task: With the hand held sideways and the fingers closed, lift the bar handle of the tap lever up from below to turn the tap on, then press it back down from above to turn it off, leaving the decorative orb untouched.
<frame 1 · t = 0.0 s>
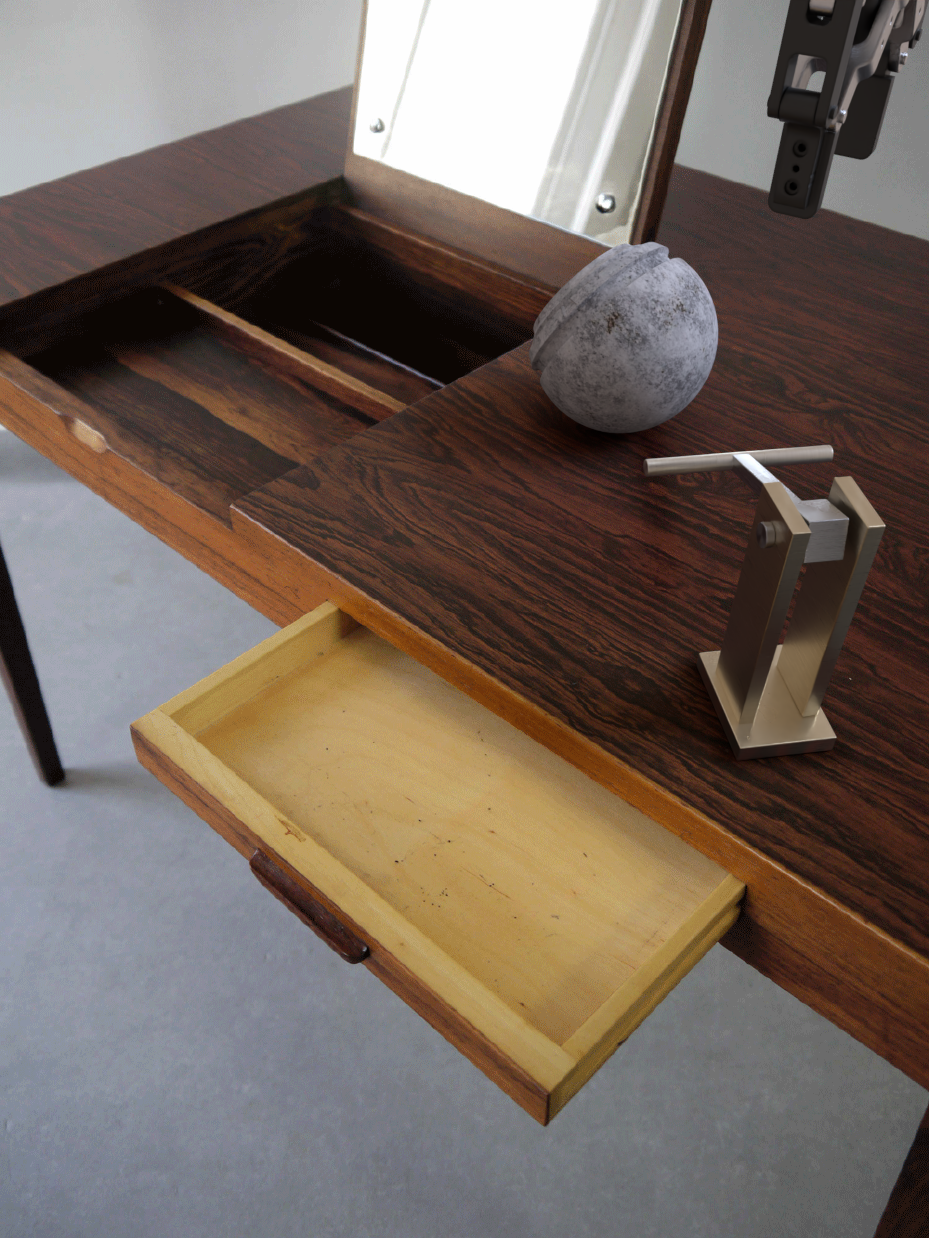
hand: (822, 182, 49), 30 cm above the table, tool pointing down, fingers open, 8 cm apart
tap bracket: (761, 706, 66), on the table
decorative orb: (614, 421, 89), on the table
tap lever: (776, 495, 61), point 13 cm above the table, hinge at -15.0°
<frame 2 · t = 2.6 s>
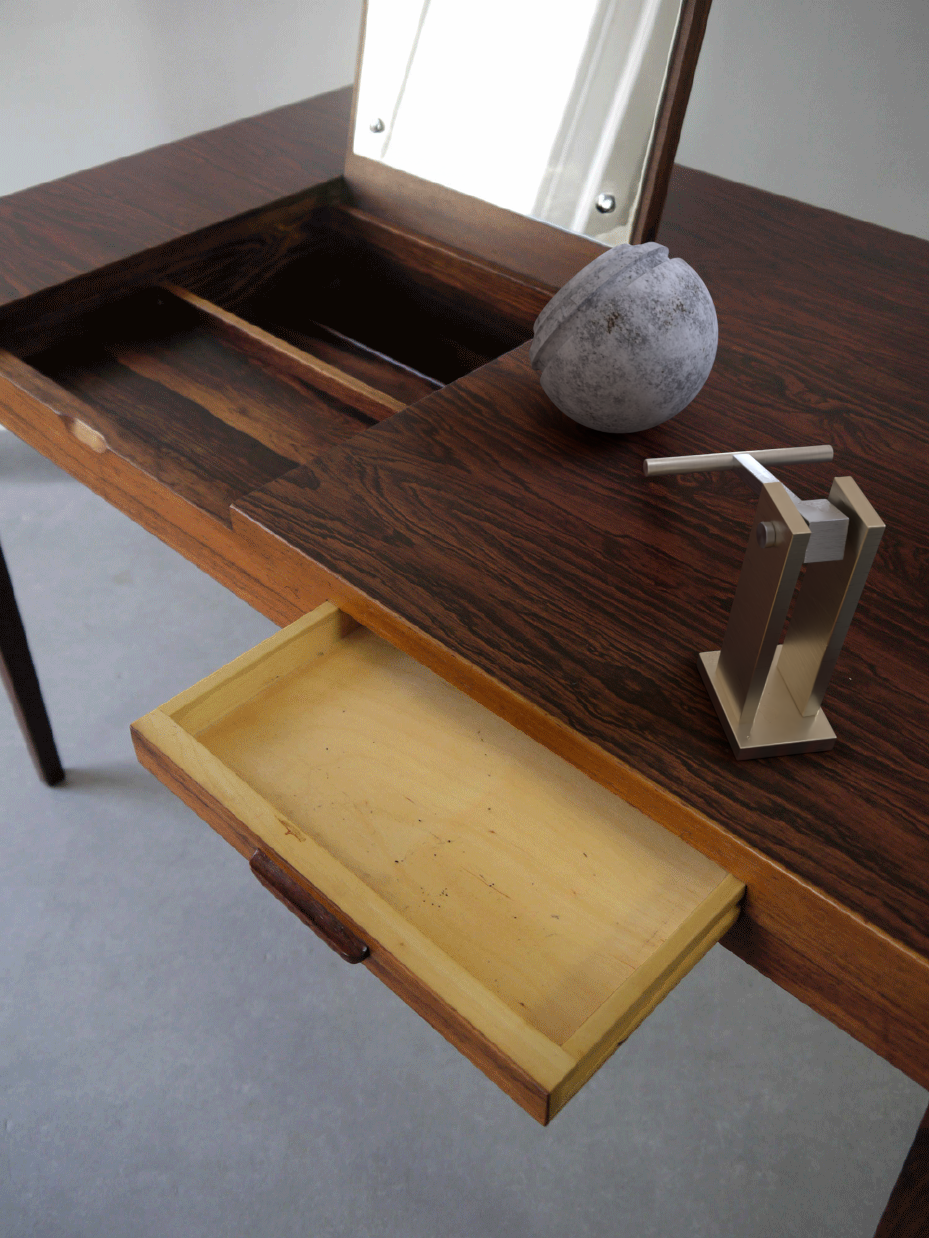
nothing on the table moved.
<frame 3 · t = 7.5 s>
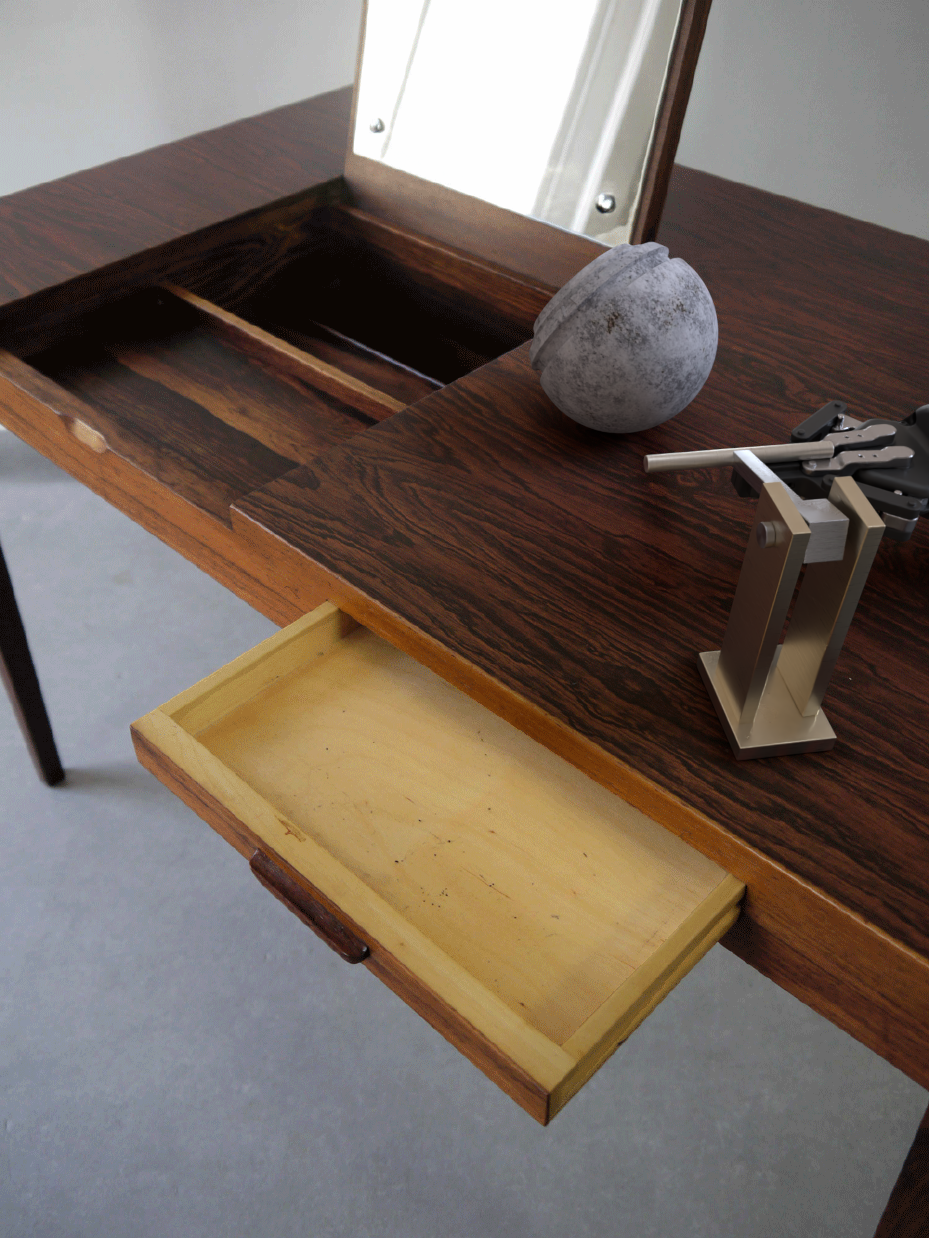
hand: (736, 477, 67), 10 cm above the table, tool horizontal, fingers closed
tap lever: (777, 493, 61), point 13 cm above the table, hinge at -13.6°, touching gripper
everything else where it was.
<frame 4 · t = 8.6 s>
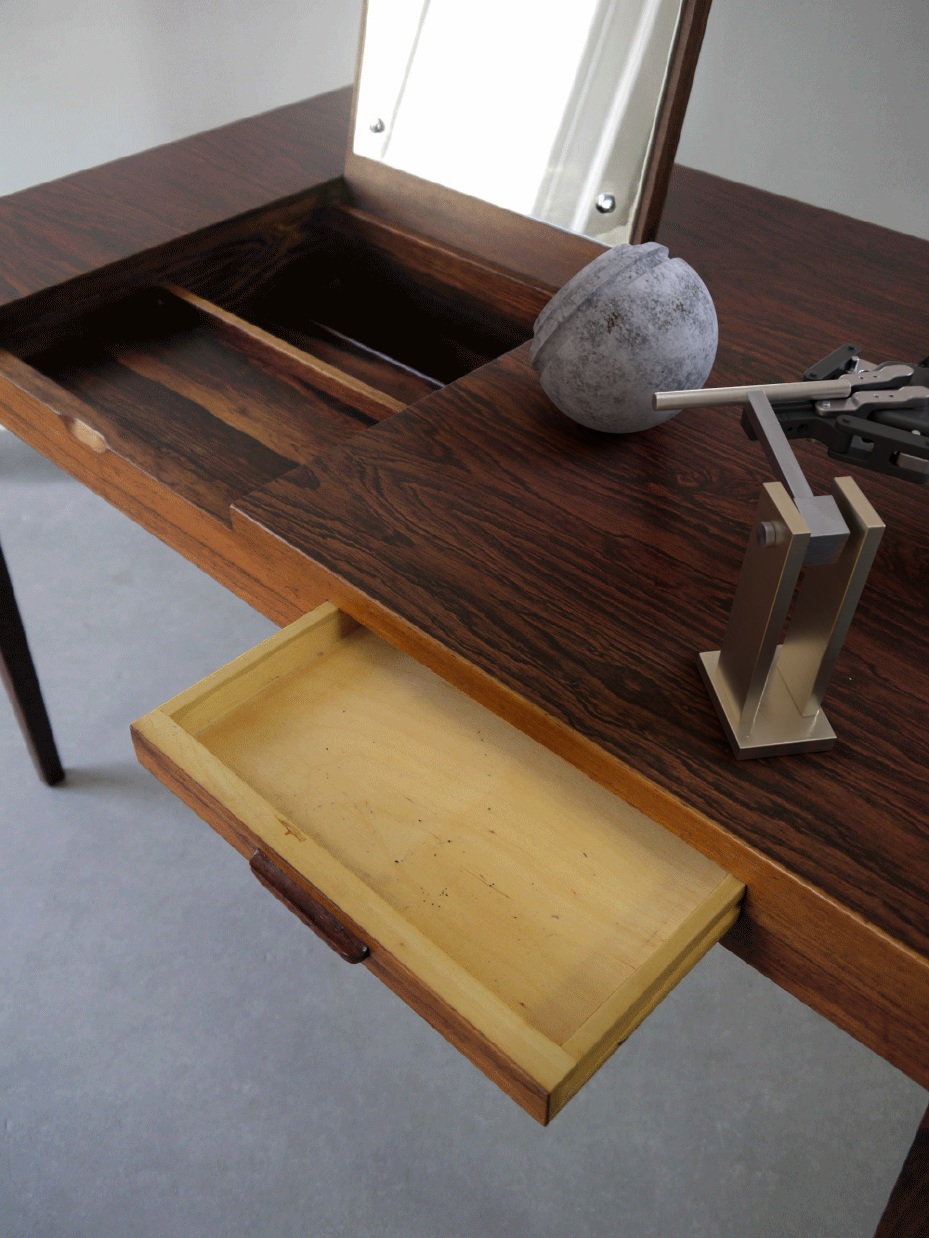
hand: (746, 419, 64), 14 cm above the table, tool horizontal, fingers closed
tap lever: (784, 464, 59), point 15 cm above the table, hinge at 9.0°, touching gripper
everything else where it was.
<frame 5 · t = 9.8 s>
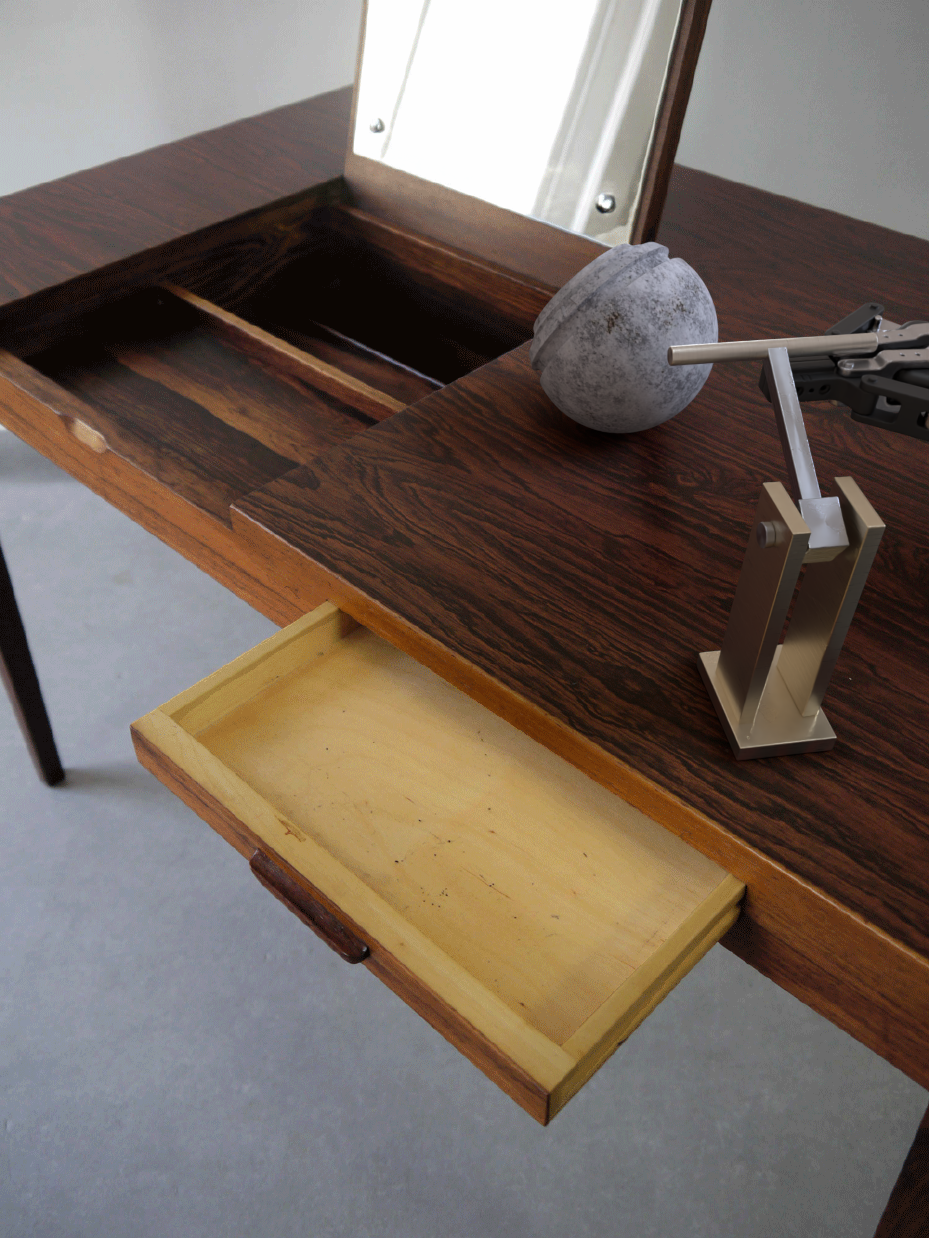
hand: (765, 381, 61), 17 cm above the table, tool horizontal, fingers closed
tap lever: (795, 444, 58), point 17 cm above the table, hinge at 29.7°, touching gripper
everything else where it was.
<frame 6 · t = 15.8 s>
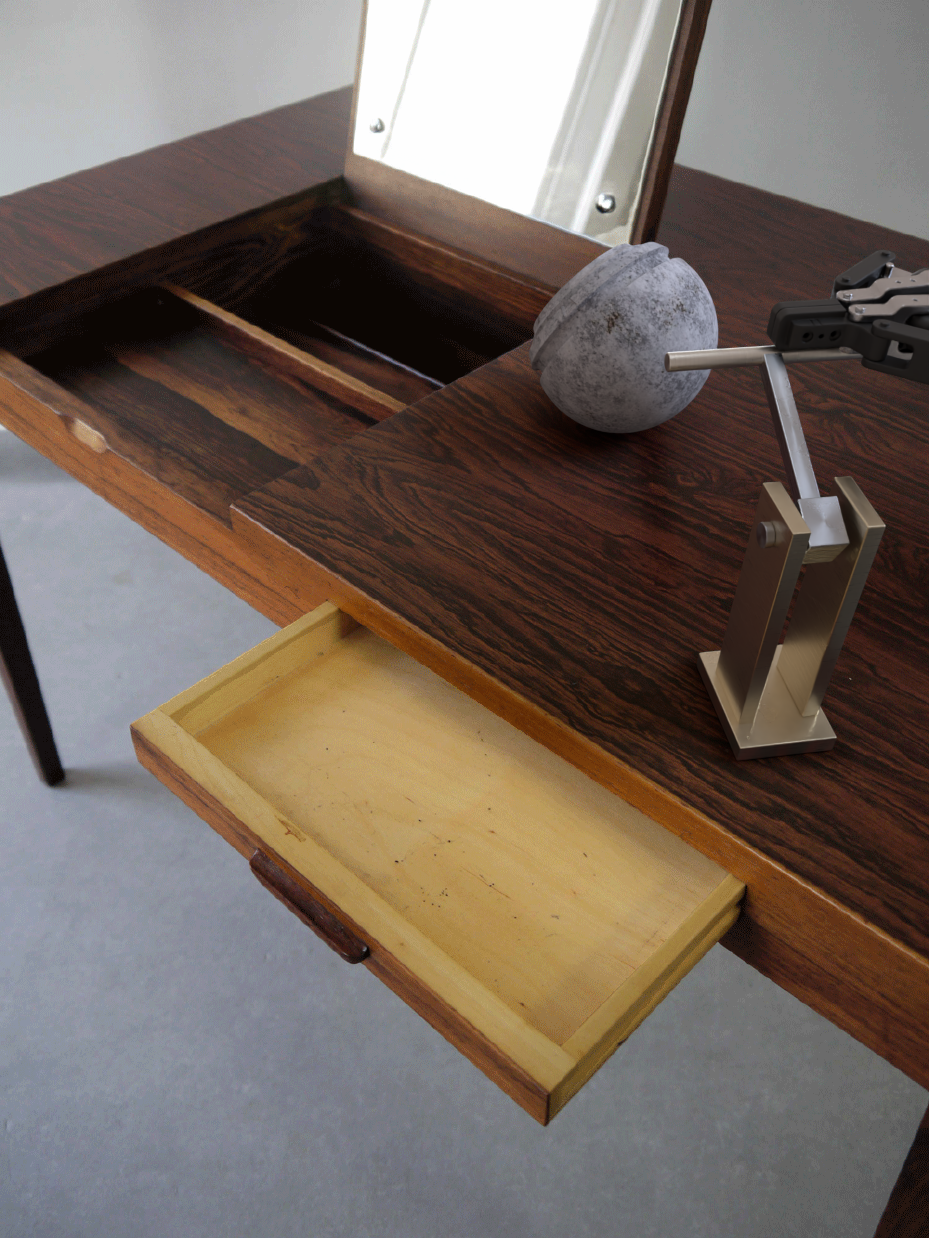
hand: (774, 326, 59), 21 cm above the table, tool horizontal, fingers closed
tap lever: (793, 447, 58), point 16 cm above the table, hinge at 26.4°, touching gripper
everything else where it was.
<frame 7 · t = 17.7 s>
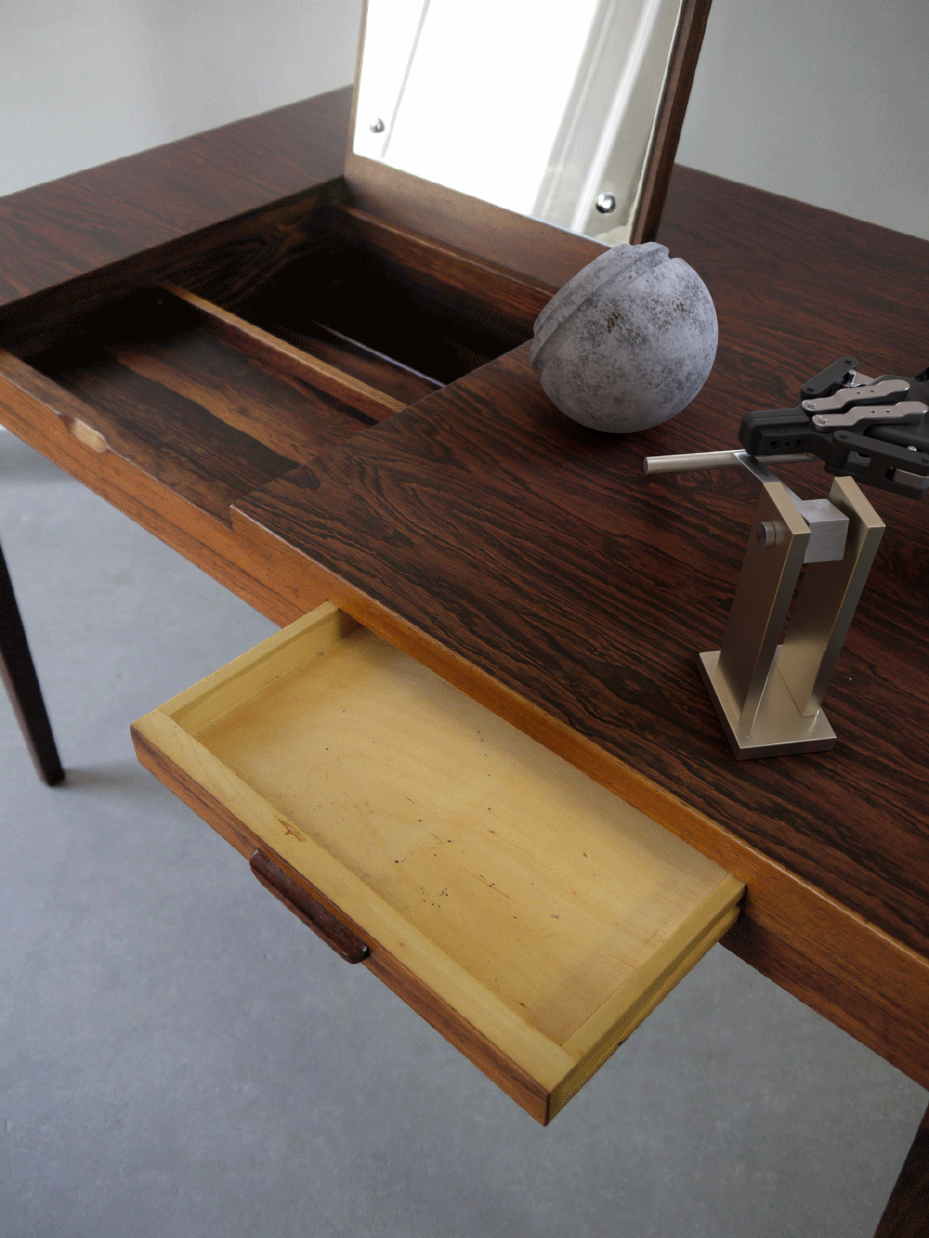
hand: (744, 434, 64), 13 cm above the table, tool horizontal, fingers closed
tap lever: (776, 494, 61), point 13 cm above the table, hinge at -14.4°
everything else where it was.
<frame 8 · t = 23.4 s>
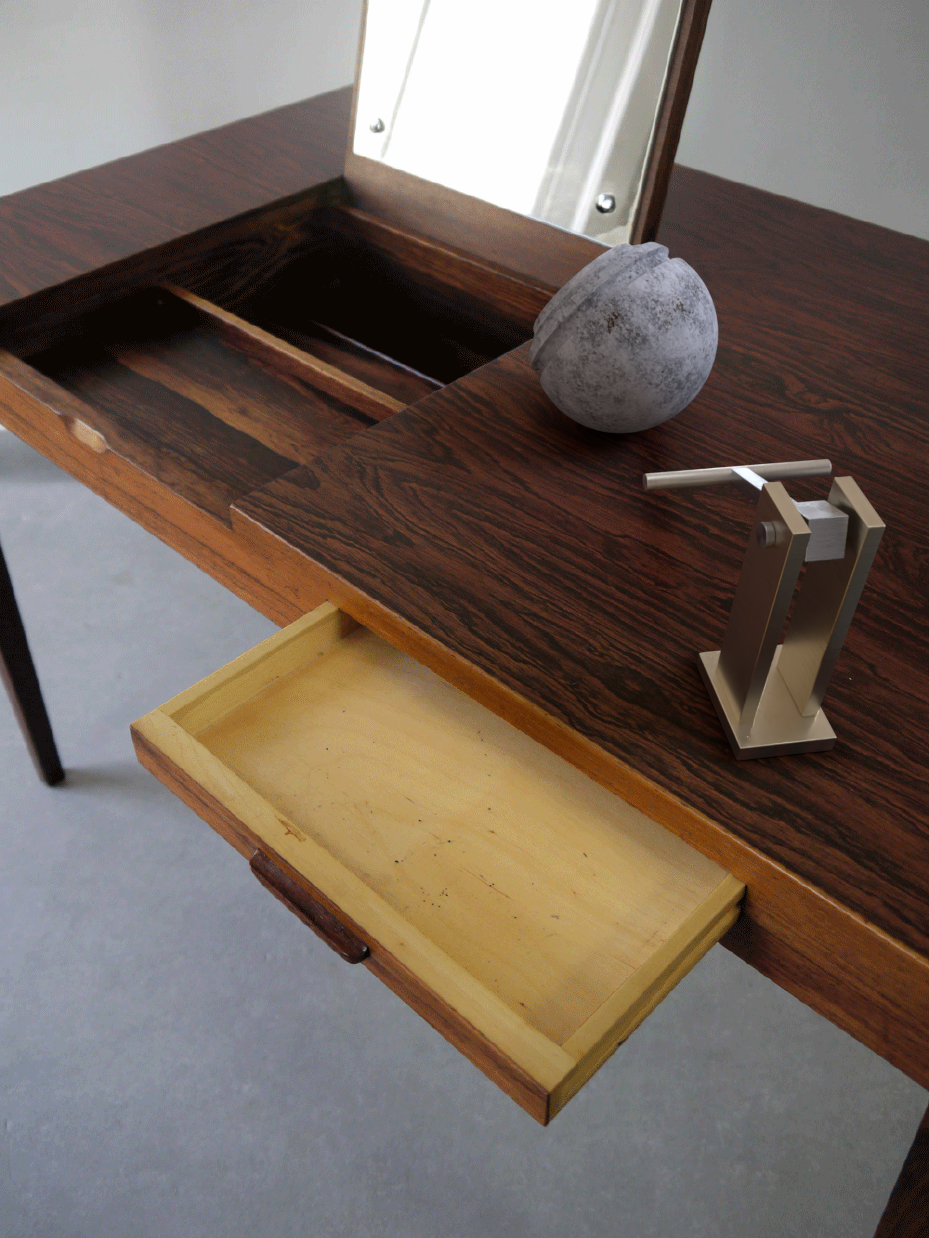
tap lever: (776, 502, 61), point 12 cm above the table, hinge at -19.8°
everything else where it was.
at the end: tap lever reached +30° during the clip, -20° at the end; tap lever at -20° (first picture: -15°); decorative orb moved 0.2 cm from its start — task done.
